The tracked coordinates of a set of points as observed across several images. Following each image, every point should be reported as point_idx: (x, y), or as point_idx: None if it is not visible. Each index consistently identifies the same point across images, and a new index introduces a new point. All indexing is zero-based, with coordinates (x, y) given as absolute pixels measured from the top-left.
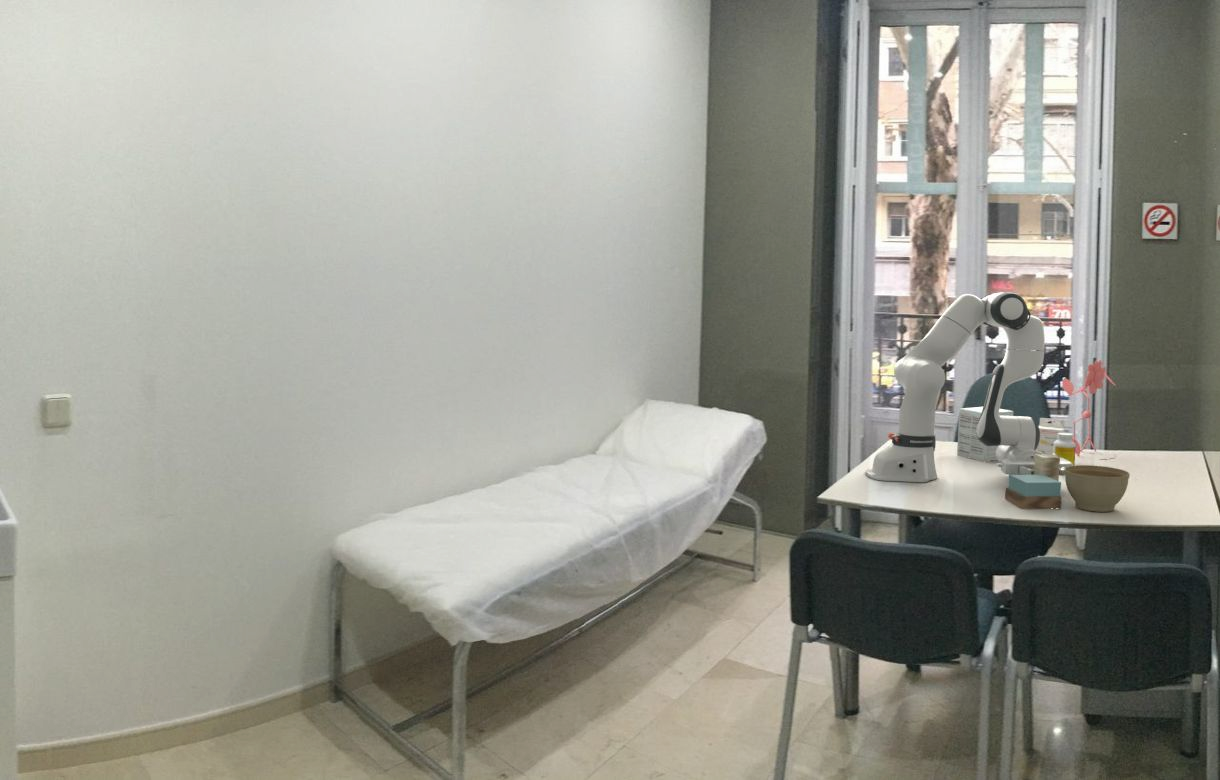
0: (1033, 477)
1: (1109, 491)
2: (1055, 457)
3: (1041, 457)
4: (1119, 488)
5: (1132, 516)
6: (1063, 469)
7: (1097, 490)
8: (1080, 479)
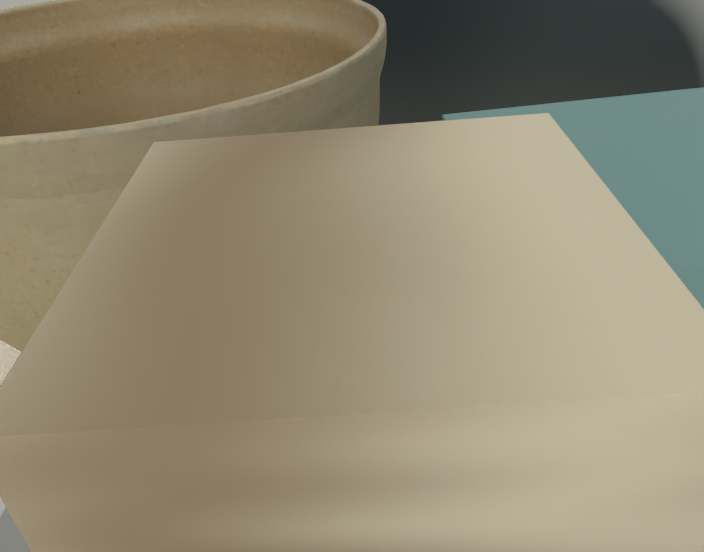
0: (681, 180)
1: (195, 90)
2: (244, 141)
3: (567, 148)
4: (122, 80)
5: None
6: (5, 511)
7: (260, 87)
8: (338, 36)
